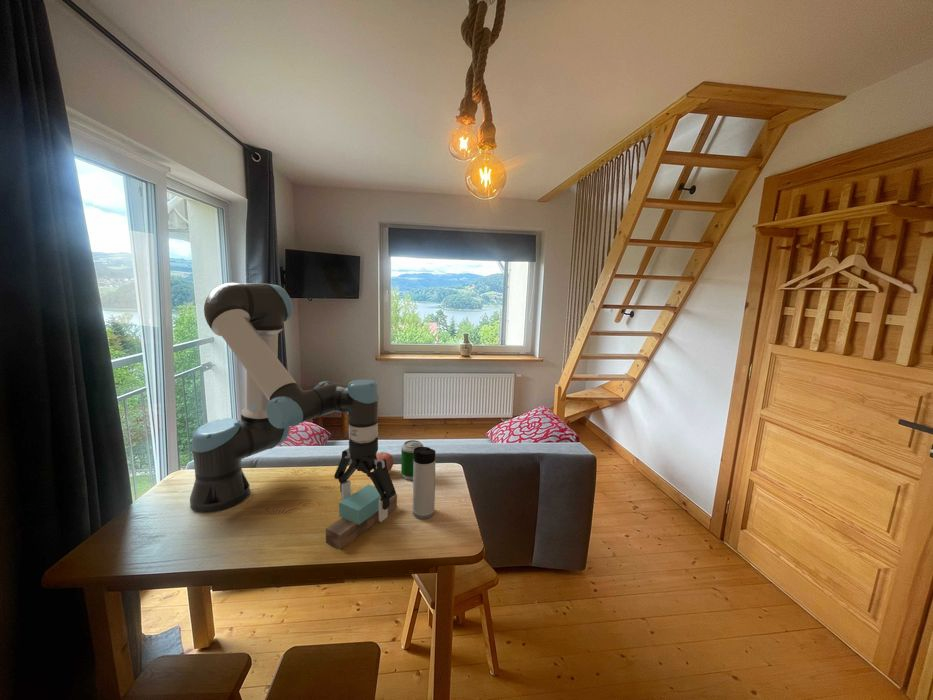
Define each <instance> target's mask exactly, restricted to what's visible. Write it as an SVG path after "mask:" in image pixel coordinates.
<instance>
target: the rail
mask: <svg viewBox="0 0 933 700" xmlns="http://www.w3.org/2000/svg"><path fill="white" fill-rule="evenodd" d="M389 503H390V506H389V508H388V514H390V513H391V512H392V511H394V510H395V509H396V508H397V507H398V494H397V493H396V495H394V496H393V497H391V498H390V502H389ZM378 522H380V521H379V511H377V512H376V513H375V514H373V515H372V516H370V517H369V518H368V519H366V520H365V521H363V522H362V523H361V524H359V525H358V524H356V523H354V522H351V521H349V520H347V519H344V518H342V517H340V518H339V519H338V520H336V521H335V522H334V523H332V524H330V525H329V526H328V527H326V528H325V542H326V544H328V545H330V546H332V547H333V548H336V549H338V550H339V551H341V550H343V548H345V547H346V546H347V545H349V544H350V543H351V542H353V541H354V540H355V539H357V538H358V537H359V536H361V535H362V534H363V533H364V532H366V531H367V530H369V528H371V527H373V525H375V524H376V523H378Z"/></svg>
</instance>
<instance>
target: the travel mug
mask: <svg viewBox="0 0 933 700" xmlns="http://www.w3.org/2000/svg"><path fill="white" fill-rule="evenodd" d="M412 485H413V486H412V515H413V516H414V517H415V518H417V519H420V520H426V519H429V518H431V517H433V516H434V514H435V502H436V501H435V500H436V496H435V495H436V450H435V449H432V448H431V447H429V446H424V447H417V448H415V449H414V464H413V480H412Z"/></svg>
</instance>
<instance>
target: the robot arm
mask: <svg viewBox="0 0 933 700" xmlns="http://www.w3.org/2000/svg"><path fill="white" fill-rule="evenodd" d="M203 312H204V318H205V322H206V323H207V326H209V328H210V329H211V331H212V332H213V333H214V334H215V335H216V336H218V337H222V339H223V340H224V341H225V342H226V344H227V345H228V347H229V349H230V350H231V351H232V353H233V354H234V355H235V357H237V359H238V361H240V363H241V365H242V366H243V367H244V369H245V371H246V406H245V407H244V408H243V409H242V410H241V411H240V419H239V420H238V419H236V418H231V417H226V418H222V419H219V418H218V419H215V420H211V421H208V422H206V423H204V424H202V425H200V426H198V427H197V429H196V430H195V431H194V432H193V434H192V438H191V439H192V441H191V442H192V444H191V449H192V456H193V465H194V475H195V477H194V479H195V481H194V483H193V487H192V490H191V493H190V496H189V505H190V509H191V510H192V511H194V512H197V513H215V512H221V511H224V510H228V509H231V508H233V507H236V506H238V505H239V504H241V503H242V502H244V501H245V500H246V499H248V498H249V495H250V493H251V486H250V484H249V480H248V479H247V477H246V476H245V473H244V471H243V467H242V460H244V459H245V458H249V457H251V456H255V455H256V454H259V453H261V452H264V451H267V450H271V449H274V448H276V446H279V445H281V444H282V443H284V442H285V441H286V440H287V438H288V437H289V433H290V430H291V429H290V428H291V427H295V426H296V427H297V426H298V425H300V424H301V423H305V422H308V421H310V420H312V419H317V418H321V417H323V416H326V415H329V414H332V413H334V412H335V413H336V412H337V413H342V414H345V415H348V438H349V440H348V448H346V449H345V450H344V449H343V451H342V452H341V459H340V461H339V463H338V465H337V468H336V471H335V473H334V475H333V477H334V479H335V480H338V482H339V490H340V493H341V501H342V500H344V499H346V498H347V497H349V496H351V495H352V494H351V493H352V489H351V487H352V485H351V481H352V480H351V479H350V477H351V476H353V474H354V473H355V471H357V472H362V473H363V474H366V476H367V477H368V478H370V480H371V482H372V483H373V485H374V487H376V489H377V491H378V492H379V494H380V496H381V497H380V498H379V521H378V522H381V523H382V521H384V520H386V519H387V518H388V517H389V515H388V514H389V513H388V508H389V506H390V503H389V502H390V498H391V497H393V496H394V495H396V494H397V492H396V489H395V486H394V483H393V480H392V478H391V476H390V471H389V472H388V469H387V463H386V459H383V460H377V457H376V454H377V453H378V451H379V438H378V437H379V421H378V419H379V418H378V417H379V416H378V415H379V413H378V412H379V411H378V410H379V408H378V407H379V393H378V392H379V391H378V390H379V389H378V384H377V383H376V381H374V380H373V379H365V378H364V379H363V378H362V379H360V378H359V379H354V380H351V381H350V382H349V383H348V384H344V383H339V382H337V381H329V380H328V381H327V380H324V381H319V382H318V384H316V385H315V386H314V388H310V389H306V390H303V389H302V388H301V387H300V385H299V384H298V383H297V381H296V380H295V379H294V377H293V376H292V375H291V373H290V372H289V371H288V370H287V368H286V367H285V365H283V363H282V362H281V361H280V359H279V358H278V356H279V355H278V353H279V351H278V350H279V349H278V348H279V333H281V332H282V331H283V330H284V324H285V322H287V321H289V320H290V319H291V317H292V315H293V303H292V299H291V297H290V295H289V294H288V292H287V291H286V289H285V288H283V287H282V286H280V285H278V284H271V283H256V282H255V283H250V282H249V283H245V282H243V283H241V282H240V283H239V282H238V283H237V282H227V283H223V284H220V285H218V286H217V287H215V288H213V290H211V291H210V292H209V294H208V295H207V297H206V299H205V302H204V306H203ZM350 461H351V463H350ZM349 463H350V465H349ZM373 469H374V470H373ZM384 492H385V493H384Z"/></svg>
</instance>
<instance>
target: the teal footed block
mask: <svg viewBox="0 0 933 700" xmlns="http://www.w3.org/2000/svg"><path fill="white" fill-rule="evenodd" d="M384 493H385V492H384ZM380 497H381V496H380V494H379V492H378V491H377V489H376V487H375V485H374V486H373V485H371V484H367V485H366V486H363V487H362V488H360V489H359V490H357V491H356V492H354V493H352V494H351V496H349V497H347V498H346V499H344V500H342V499H341V500H340V501H339V503H338V505H339V506H338V507H339V509H338V511H339V517H340V518H344V519H347V520H349V521H351V522H354V523H356V524H358V525H359V524H361V523H362V522H363V521H365V520H366V519H368V518H369V517H370V516H372V515H373V514H375V513H376V512H377V511H379V498H380Z"/></svg>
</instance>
